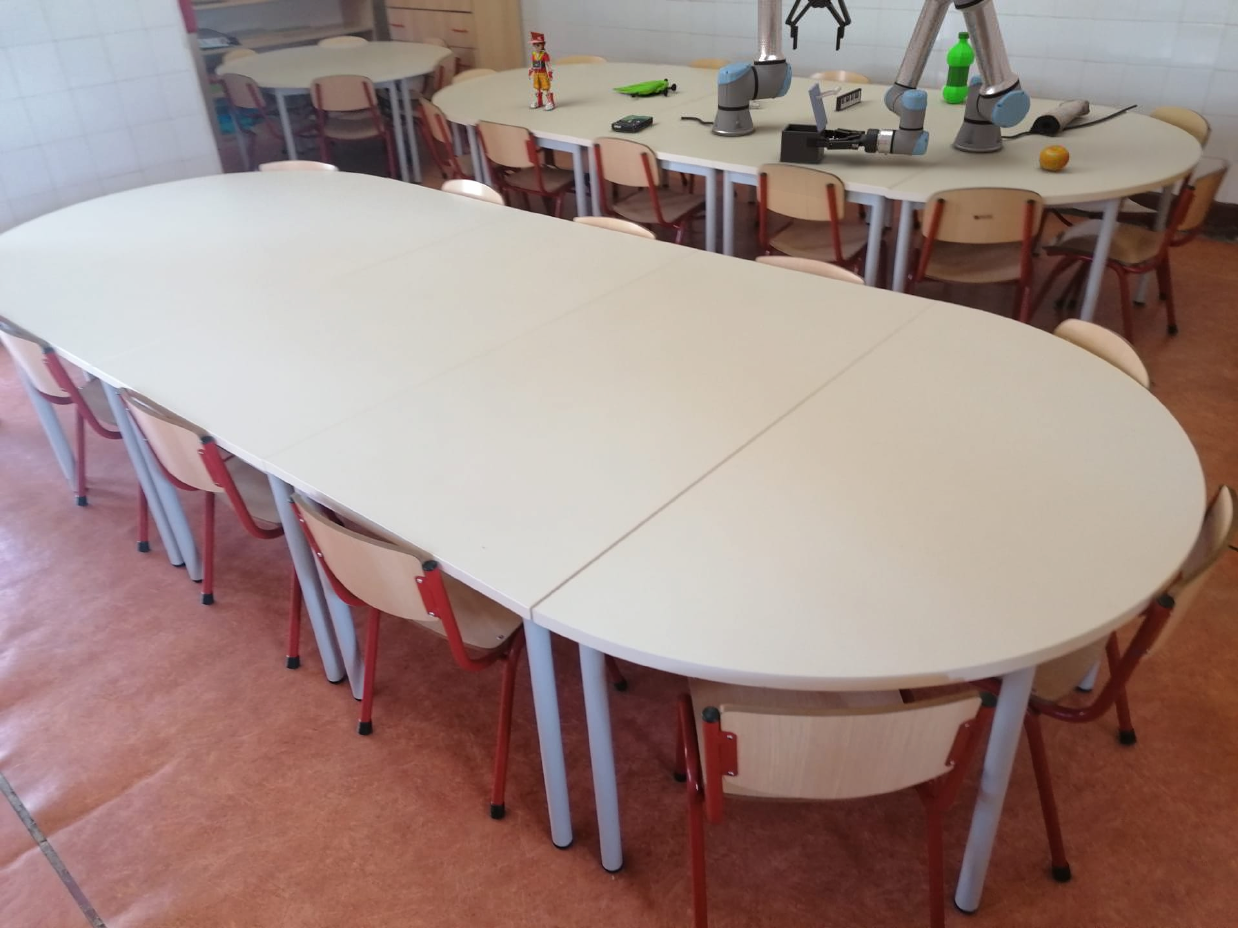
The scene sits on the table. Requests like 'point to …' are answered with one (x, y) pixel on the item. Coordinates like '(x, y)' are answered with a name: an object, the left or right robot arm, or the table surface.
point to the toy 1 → (541, 71)
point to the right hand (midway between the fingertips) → (810, 137)
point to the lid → (820, 104)
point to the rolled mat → (1060, 117)
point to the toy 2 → (648, 88)
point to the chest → (800, 144)
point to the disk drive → (632, 123)
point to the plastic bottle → (958, 70)
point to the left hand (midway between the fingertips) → (816, 49)
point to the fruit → (1054, 157)
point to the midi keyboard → (848, 99)
